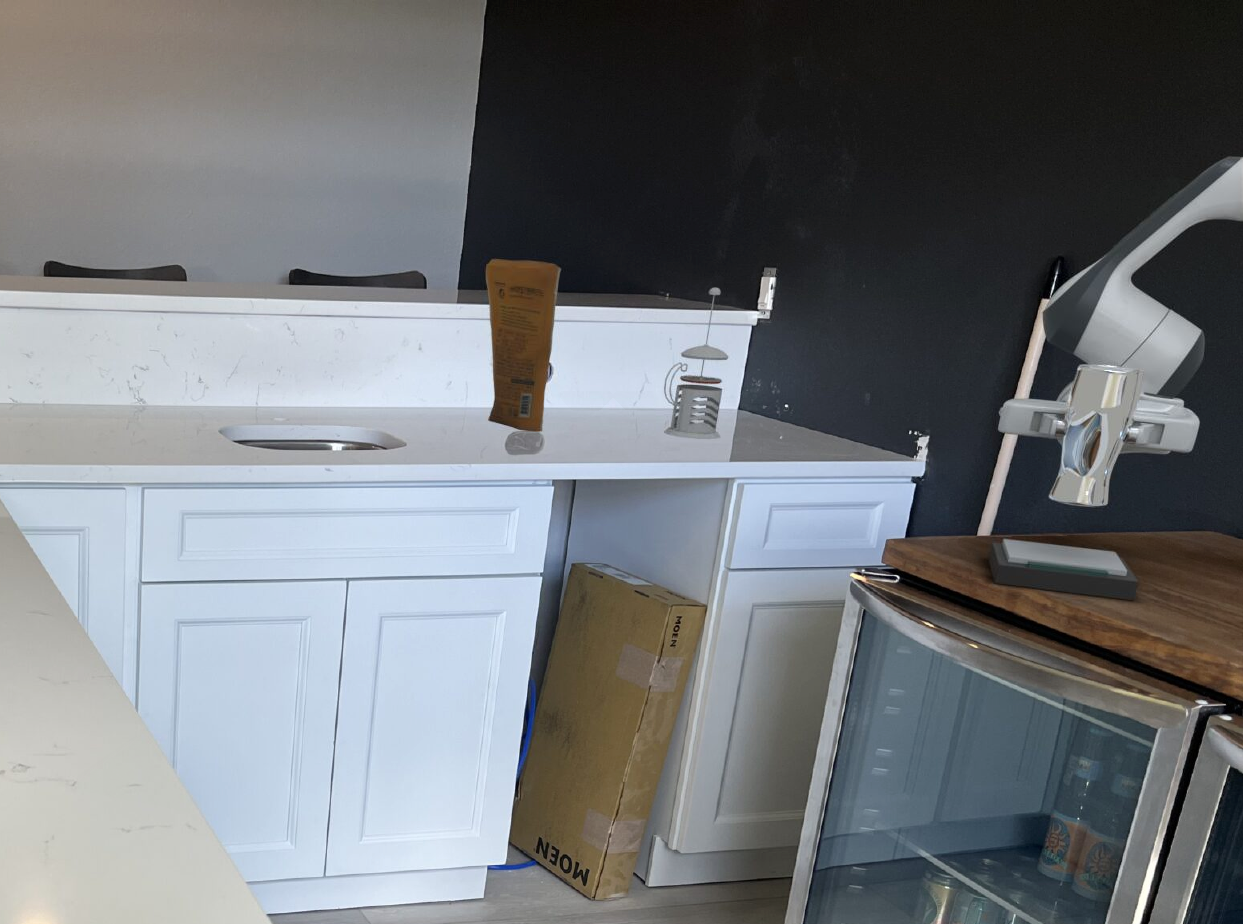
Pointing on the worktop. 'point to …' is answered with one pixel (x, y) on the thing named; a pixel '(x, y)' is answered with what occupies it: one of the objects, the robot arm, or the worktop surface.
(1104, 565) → the kitchen scale
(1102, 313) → the robot arm
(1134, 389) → the beer glass
